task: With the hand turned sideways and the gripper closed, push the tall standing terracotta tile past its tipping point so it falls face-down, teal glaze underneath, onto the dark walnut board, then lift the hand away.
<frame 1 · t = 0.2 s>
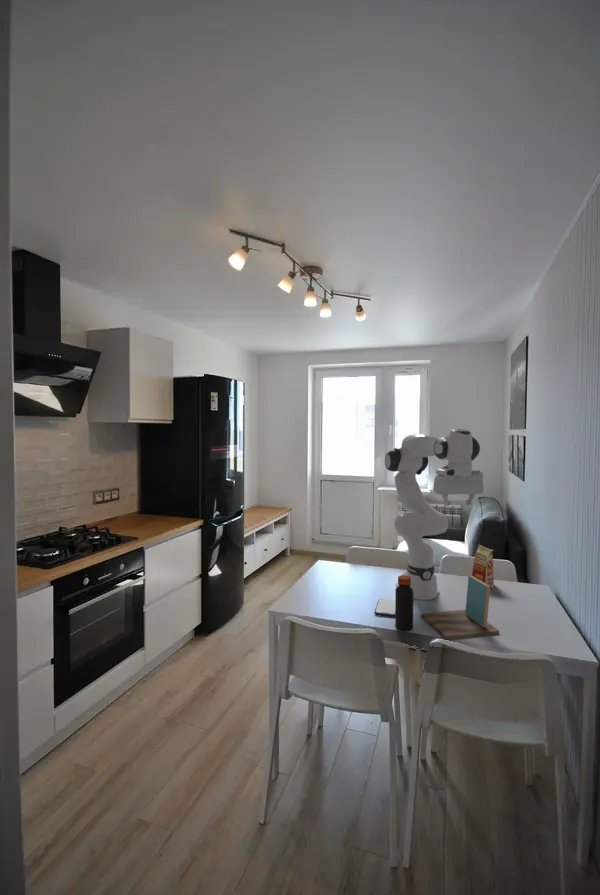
hand: (458, 505, 169), 48 cm above the table, tool pointing down, fingers open, 8 cm apart
milk carton: (483, 585, 213), on the table
phone case: (386, 610, 185), on the table
tile: (477, 600, 170), point 9 cm above the table, hinge at -5.0°
walnut board: (458, 624, 170), on the table
bottle: (404, 628, 168), on the table
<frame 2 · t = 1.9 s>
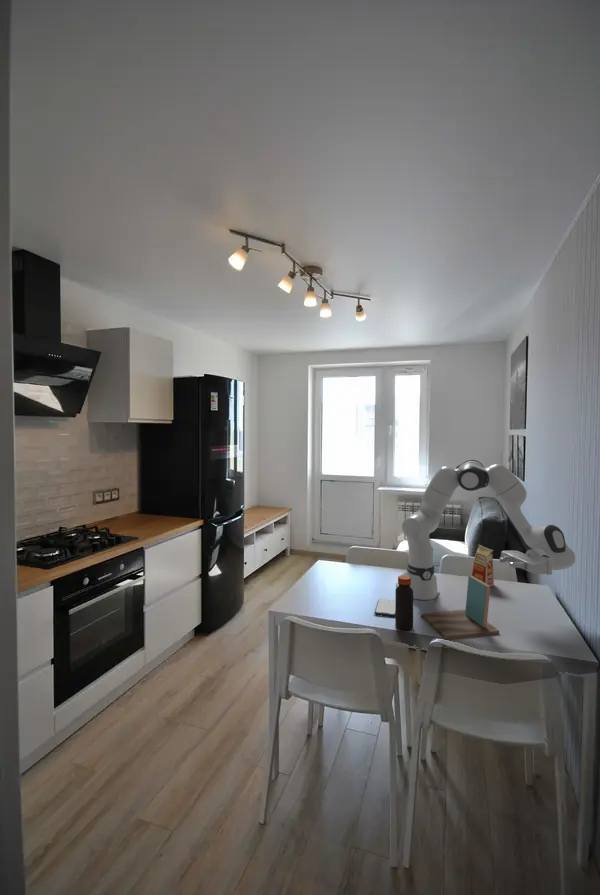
hand: (505, 562, 172), 24 cm above the table, tool horizontal, fingers open, 5 cm apart
nothing on the table moved.
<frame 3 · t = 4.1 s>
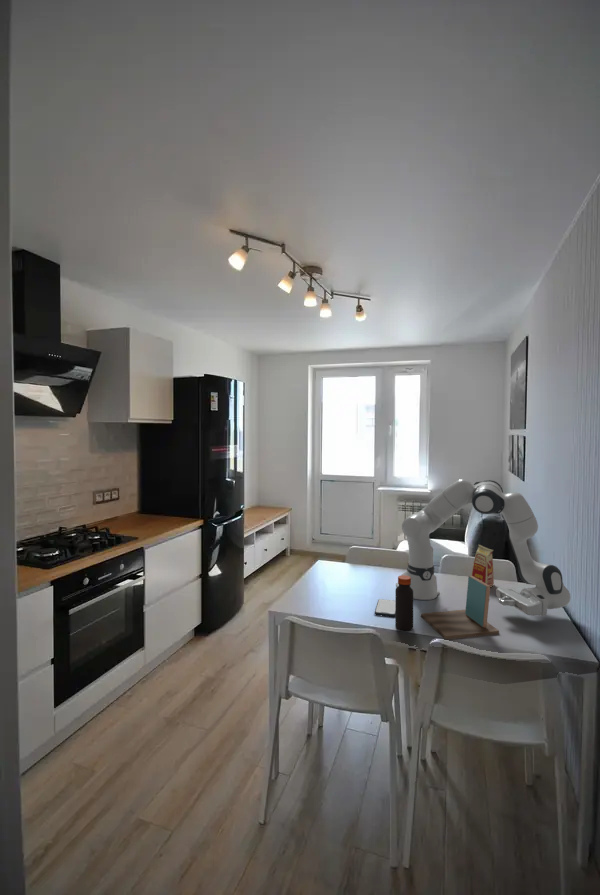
hand: (500, 602, 172), 8 cm above the table, tool horizontal, fingers closed
nothing on the table moved.
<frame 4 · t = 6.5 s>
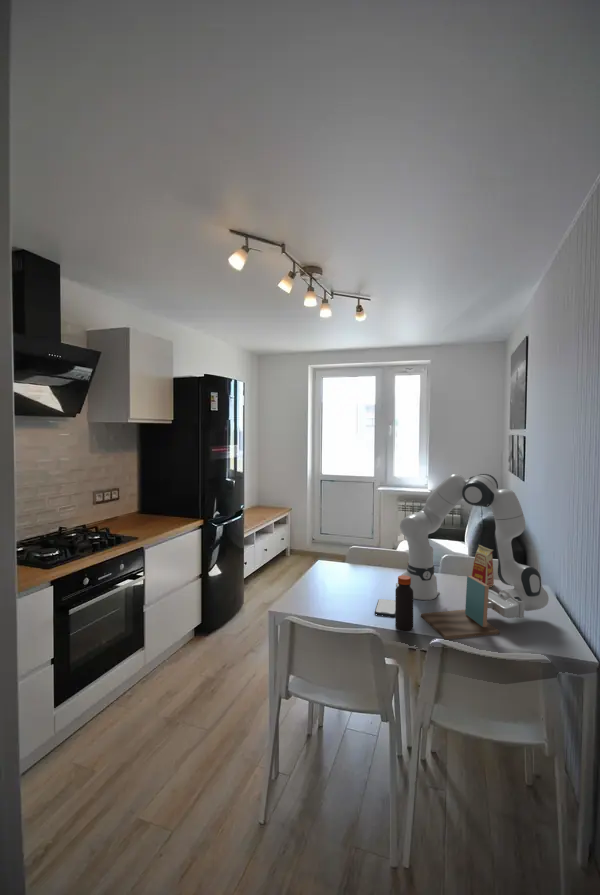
hand: (478, 604, 170), 8 cm above the table, tool horizontal, fingers closed, pressing on tile
tile: (476, 600, 170), point 10 cm above the table, hinge at -2.6°, touching gripper
everything else where it was.
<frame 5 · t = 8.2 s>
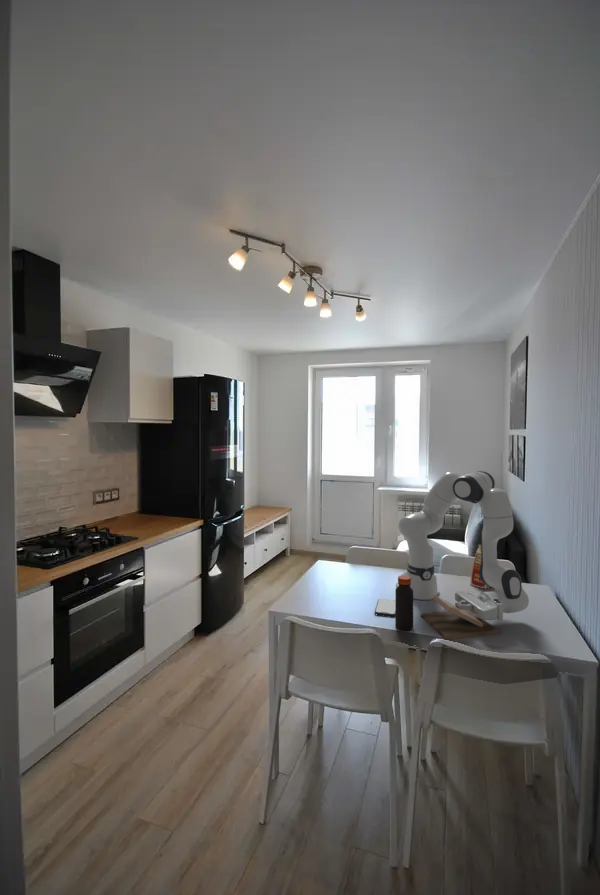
hand: (457, 606, 168), 8 cm above the table, tool horizontal, fingers closed
tile: (457, 611, 168), point 6 cm above the table, hinge at 61.1°
everything else where it was.
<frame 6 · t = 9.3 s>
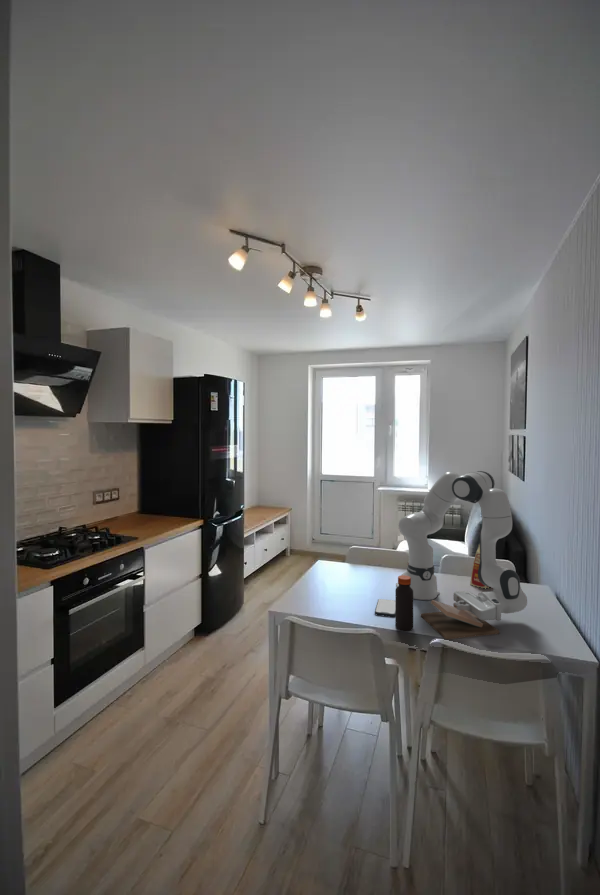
hand: (455, 606, 168), 8 cm above the table, tool horizontal, fingers closed
tile: (456, 613, 168), point 5 cm above the table, hinge at 68.1°
everything else where it was.
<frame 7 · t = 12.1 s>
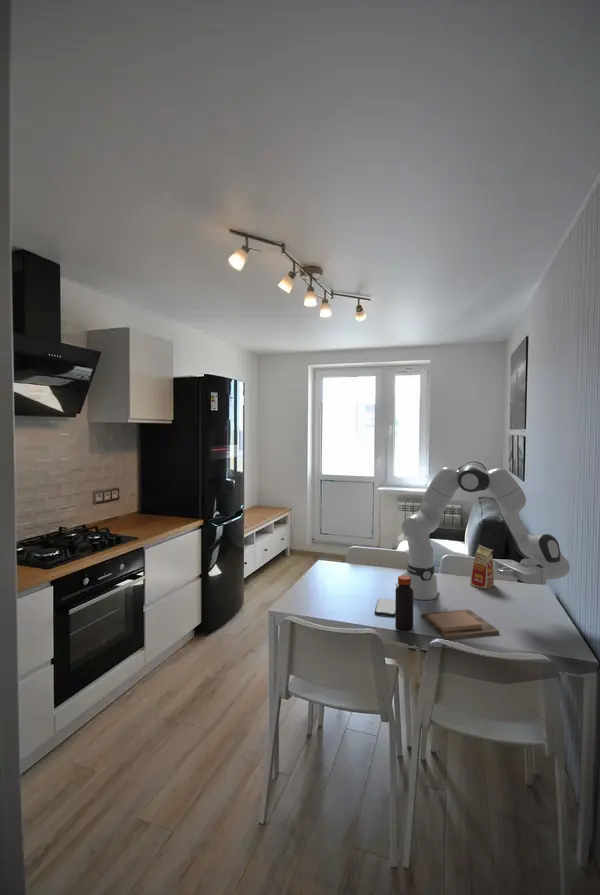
hand: (499, 572, 171), 20 cm above the table, tool horizontal, fingers closed
tile: (454, 621, 168), point 2 cm above the table, hinge at 90.0°, touching walnut board
everything else where it was.
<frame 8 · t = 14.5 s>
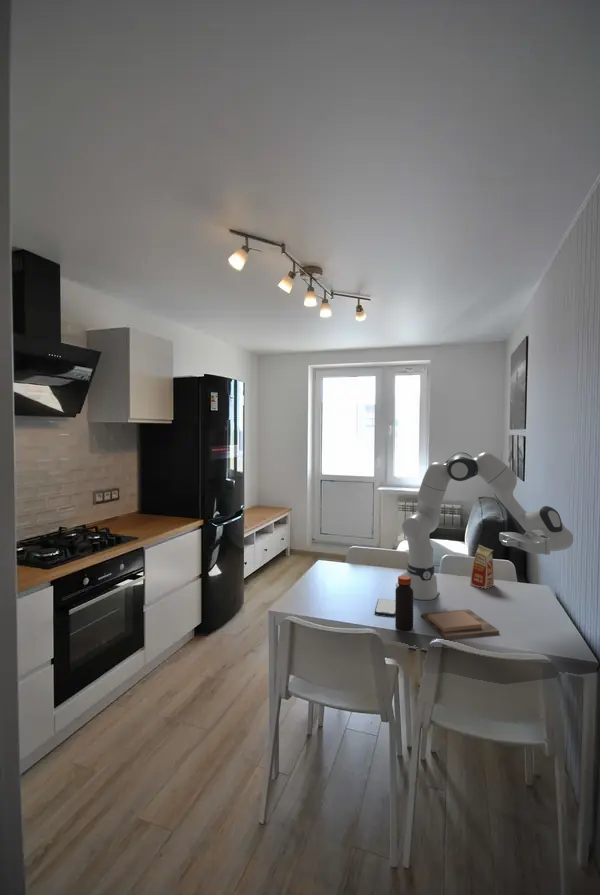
hand: (503, 543, 171), 32 cm above the table, tool horizontal, fingers closed
nothing on the table moved.
at the end: tile at +90° (first picture: -5°); the gripper is holding nothing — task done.
